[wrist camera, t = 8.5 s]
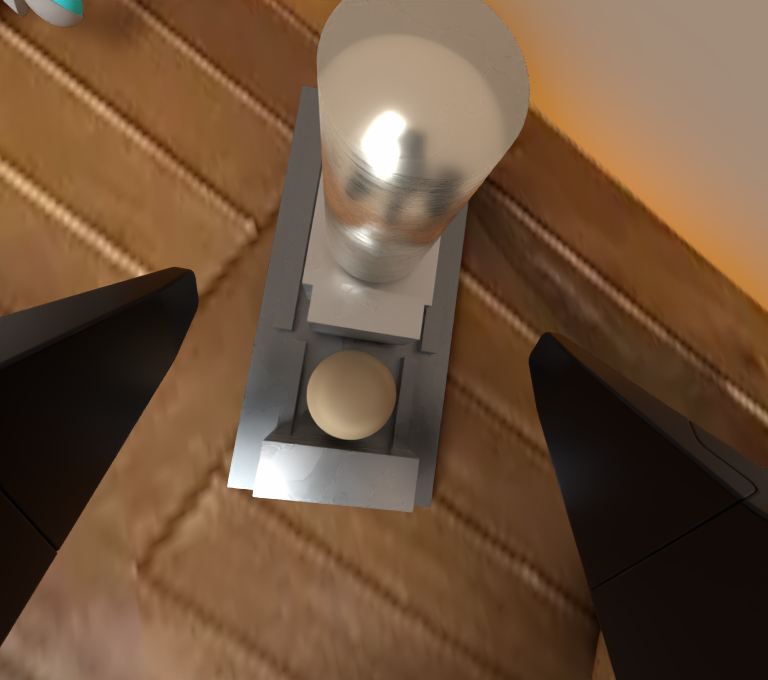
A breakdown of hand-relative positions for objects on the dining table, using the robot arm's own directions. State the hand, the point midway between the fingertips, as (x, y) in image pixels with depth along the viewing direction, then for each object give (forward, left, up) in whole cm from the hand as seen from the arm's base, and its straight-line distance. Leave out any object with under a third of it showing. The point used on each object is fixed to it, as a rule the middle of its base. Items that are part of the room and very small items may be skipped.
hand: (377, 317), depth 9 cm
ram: (+2, +2, -7) cm, 8 cm away
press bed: (+2, +2, -8) cm, 9 cm away
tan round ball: (-2, -2, -7) cm, 8 cm away
